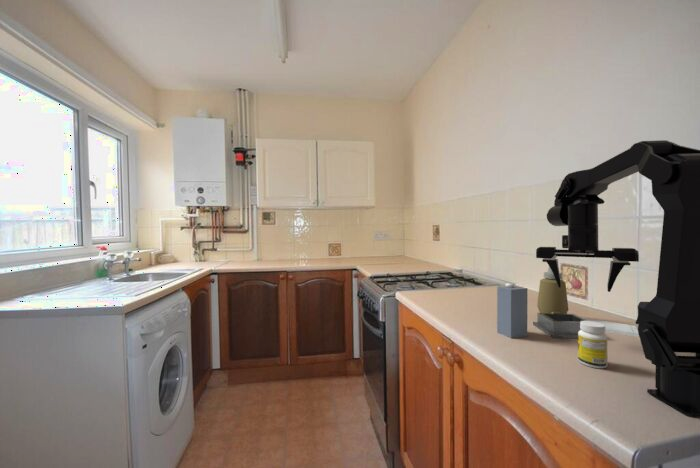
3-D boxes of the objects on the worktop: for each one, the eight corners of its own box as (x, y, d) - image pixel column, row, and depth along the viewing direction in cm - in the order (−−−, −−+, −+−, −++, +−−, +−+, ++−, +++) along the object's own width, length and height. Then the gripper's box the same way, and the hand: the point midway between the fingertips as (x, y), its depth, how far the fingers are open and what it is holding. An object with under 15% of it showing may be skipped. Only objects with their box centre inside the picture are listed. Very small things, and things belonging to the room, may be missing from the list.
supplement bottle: (583, 356, 64) (584, 318, 64) (611, 365, 60) (611, 324, 60) (573, 362, 61) (573, 322, 61) (601, 371, 57) (601, 328, 57)
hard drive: (578, 323, 83) (639, 332, 75) (579, 316, 90) (635, 324, 82) (578, 329, 83) (639, 339, 75) (579, 322, 90) (635, 330, 82)
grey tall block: (527, 335, 77) (527, 285, 77) (510, 338, 75) (511, 286, 75) (512, 330, 81) (513, 282, 81) (497, 332, 79) (497, 283, 79)
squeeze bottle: (531, 317, 93) (531, 260, 93) (547, 313, 96) (547, 259, 96) (558, 324, 86) (558, 263, 85) (574, 320, 89) (574, 261, 89)
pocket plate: (599, 339, 74) (599, 323, 74) (552, 337, 75) (552, 321, 75) (574, 326, 84) (574, 311, 84) (533, 324, 86) (533, 310, 86)
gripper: (631, 224, 71) (632, 288, 71) (540, 226, 83) (540, 281, 82) (638, 223, 62) (639, 296, 62) (535, 225, 74) (536, 287, 74)
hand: (583, 289), depth 70 cm, fingers open, 9 cm apart
